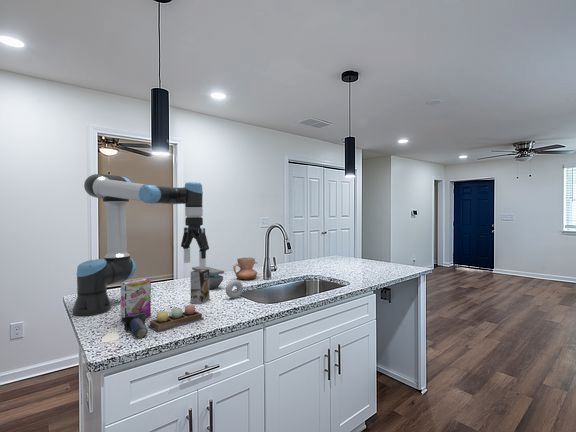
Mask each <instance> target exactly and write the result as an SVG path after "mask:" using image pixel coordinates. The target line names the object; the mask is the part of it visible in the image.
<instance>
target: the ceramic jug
mask: <svg viewBox="0 0 576 432" xmlns="http://www.w3.org/2000/svg"><path fill="white" fill-rule="evenodd" d="M236 262H237V263H235V264H234V265H233V266H232V267H233V268H232V269H233V272H234V274H235V276H236V278H237V279H238V280H243V281H249V280H254V279H255V278H256V277H257V276H258V272H257V271H256V270H255V269H254V266H255V264H259V262H258V261H256V257H253V256H252V257H251V256H250V257H248V256H247V257H239V258H237V260H236ZM236 267H238V268H240V269H239V270H238V271H236Z"/></svg>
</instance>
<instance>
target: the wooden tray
mask: <svg viewBox="0 0 576 432" xmlns="http://www.w3.org/2000/svg"><path fill="white" fill-rule="evenodd" d="M203 320H204V317H203V314H202V313H201V312H199V311H197V310H195V313H193V314H185V311H184V312H183V311H182V316H181V317H177V318H173V317H171V315H168V320H166V321H157V318H156V319H152V320H150V321H149V325H148V326H147V328H148V329H151V330H152V331H154V332H156V333H161V332H165V331H168V330H171V329H172V330H173V329H174V328H175V327H176V328H178V327H181V326H182V325H183V326H186V325H190V324H192V323H196V322H200V321H203ZM176 328H175V329H176Z"/></svg>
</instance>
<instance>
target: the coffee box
mask: <svg viewBox="0 0 576 432" xmlns="http://www.w3.org/2000/svg"><path fill="white" fill-rule="evenodd" d="M209 300H210V289H209V269H198V270H192V271H190V304H194V305H196V304H197V305H202V304H204V303H206V302H207V301H209Z"/></svg>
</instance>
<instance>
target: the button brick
mask: <svg viewBox="0 0 576 432" xmlns="http://www.w3.org/2000/svg"><path fill="white" fill-rule="evenodd" d="M195 311H196V306H195V304H189V305H185V306H184V312H185V314H193V313H195Z"/></svg>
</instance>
